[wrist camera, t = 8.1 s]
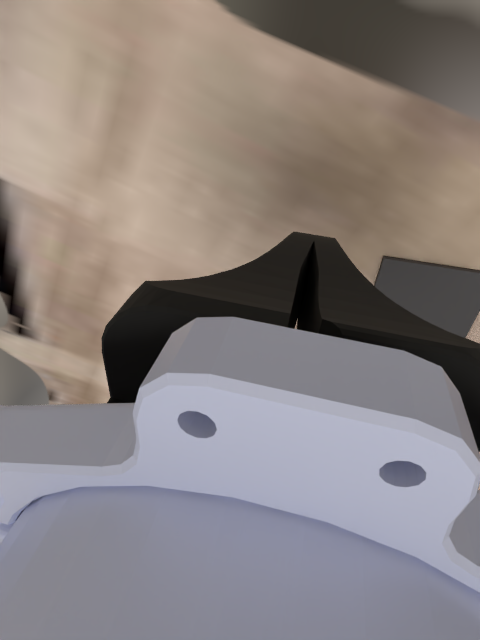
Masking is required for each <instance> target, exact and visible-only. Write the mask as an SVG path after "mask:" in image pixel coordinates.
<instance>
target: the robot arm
mask: <svg viewBox="0 0 480 640" xmlns="http://www.w3.org/2000/svg"><path fill="white" fill-rule="evenodd" d="M297 318H298V321H297ZM296 321H297V329H294V328H295V325H296ZM102 354H103V360H104V365H105V370H106V376H107V381H108V386H109V392H110V397H111V398H110V399H109V401H108V402H107V403H104V404H61V405H18V406H3V405H0V640H480V490H478V487H479V483H480V455H479V452H480V344H479V343H476V342H474V341H471V340H469V339H466V338H464V337H461V336H458V335H456V334H453V333H451V332H448V331H446V330H444V329H441V328H439V327H437V326H435V325H433V324H431V323H429V322H427V321H425V320H423V319H421V318H420V317H418V316H416V315H414V314H412V313H411V312H409V311H407V310H406V309H404V308H403V307H401V306H400V305H398V304H396V303H395V302H394V301H392V300H391V299H389V298H388V297H387V296H385V295H384V294H383V293H382V292H381V291H379V290H378V289H377V288H376V287H375V286H373V285H372V284H371V283H370V282H369V281H368V280H367V279H366V278H365V277H364V276H363V274H362V273H361V272H360V271H359V270H358V269H357V268H356V267H355V265H354V264H353V263H352V262H351V260H350V259H349V258H348V256H347V255H346V254H345V252H344V251H343V249H342V248H341V246H340V245H339V243H338V242H337V240H336V239H335V238H330V237H324V236H318V235H312V234H306V233H300V232H293V233H291V234H290V235H289V236H288V237H286V238H285V239H284V240H283V241H282V242H280V243H279V244H278V245H277V246H275V247H274V248H272V249H271V250H270V251H268V252H267V253H265V254H264V255H262V256H260V257H259V258H257V259H255V260H253V261H251V262H249V263H247V264H245V265H242V266H240V267H237V268H235V269H232V270H228V271H225V272H221V273H217V274H214V275H210V276H205V277H199V278H192V279H184V280H168V281H145V282H144V283H143V284H142V285H141V286H140V287H139V288H138V289H137V290H136V291H135V292H134V293H133V294H132V295H131V296H130V297H129V299H128V300H127V301H126V302H125V303H124V305H123V306H122V307H121V308H120V309H119V311H118V312H117V313H116V314H115V315H114V317H113V318H112V319H111V320H110V321H109V323H108V324H107V325H106V327H105V330H104V333H103V336H102Z"/></svg>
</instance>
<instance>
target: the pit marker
mask: <svg viewBox="0 0 480 640" xmlns="http://www.w3.org/2000/svg"><path fill="white" fill-rule="evenodd" d="M374 286H375V287H376V288H377V289H378V290H379V291H381V292H382V293H383V294H384V295H385V296H387V297H388V298H389V299H391V300H392V301H394V302H395V303H396V304H398V305H400V306H401V307H403V308H404V309H406V310H407V311H409V312H411V313H412V314H414V315H416V316H418V317H420V318H421V319H423V320H425V321H427V322H429V323H431V324H433V325H435V326H437V327H439V328H441V329H444V330H446V331H448V332H451V333H453V334H456V335H458V336H461V337H464V338H465V337H466V336H467V334H468V332H469V330H470V328H471V326H472V324H473V322H474V321H475V319H476V317H477V315H478V313H479V311H480V271H479V270H472V269H465V268H459V267H452V266H446V265H439V264H432V263H426V262H419V261H413V260H406V259H399V258H393V257H386V256H384V257H383V260H382V263H381V266H380V269H379V273H378V276H377V279H376V282H375V285H374Z"/></svg>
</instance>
